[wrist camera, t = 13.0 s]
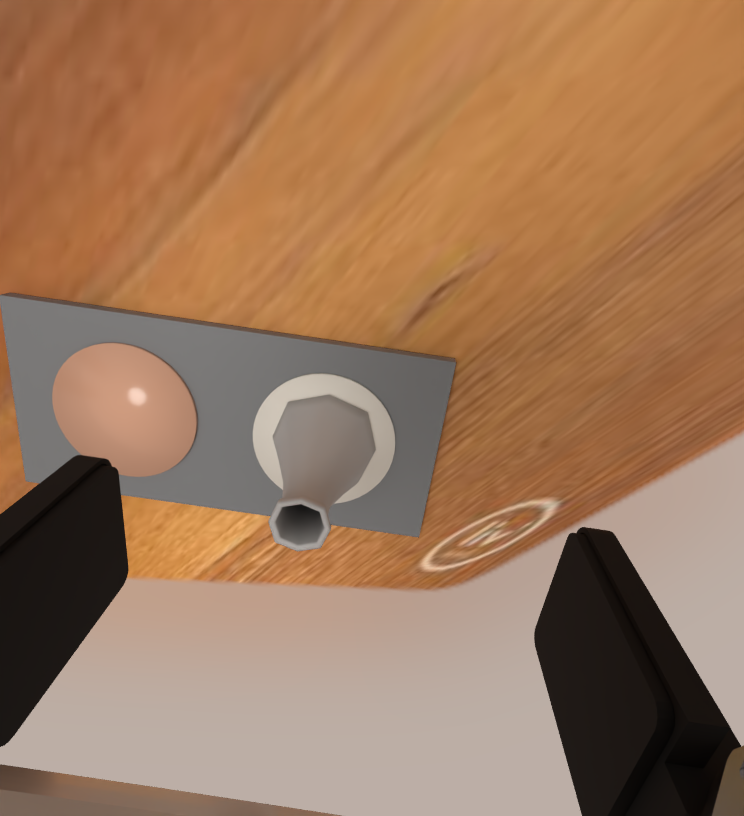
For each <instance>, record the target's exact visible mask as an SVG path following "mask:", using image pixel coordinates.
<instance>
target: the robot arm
mask: <svg viewBox="0 0 744 816" xmlns="http://www.w3.org/2000/svg"><path fill="white" fill-rule="evenodd" d="M127 575H128V559H127V549H126V539H125V530H124V520H123V510H122V500H121V491H120V481H119V473H118V470H117V468H115V467H112V465H111V463H110V461H109V460H108V459H105V458H98V457H91V456H85V455H76V456H74V457H73V458H71V459H70V460H69V461H68V462H66V463H65V464H64V465H63V466H61V467H60V468H59V469H57V470H56V471H55V472H54V473H52V474H51V475H50V476H49V477H47V478H46V479H45V480H43V481H42V482H41V483H40V484H38V485H37V486H36V487H35V488H33V489H32V490H31V491H30V492H28V493H27V494H26V495H24V496H23V497H22V498H21V499H19V500H18V501H17V502H16V503H14V504H13V505H12V506H10V507H9V508H8V509H7V510H5V511H4V512H3V513H2V514H0V747H1V746H3V745H5V744H6V743H8V742H9V741H10V739H11V738H12V737H13V736H14V735H15V733H16V732H17V731H18V729H19V728H20V727H21V725H22V723H23V722H24V721H25V720H26V718H27V717H28V715H29V714H30V713H31V711H32V710H33V709H34V707H35V706H36V704H37V703H38V702H39V700H40V699H41V698H42V696H43V695H44V694H45V692H46V691H47V689H48V688H49V687H50V685H51V684H52V683H53V681H54V680H55V678H56V677H57V676H58V674H59V673H60V672H61V670H62V669H63V667H64V666H65V665H66V663H67V662H68V660H69V659H70V658H71V656H72V655H73V654H74V652H75V651H76V650H77V648H78V647H79V645H80V644H81V643H82V641H83V640H84V639H85V637H86V636H87V634H88V633H89V632H90V630H91V629H92V628H93V626H94V625H95V623H96V622H97V621H98V619H99V618H100V617H101V615H102V614H103V612H104V611H105V610H106V608H107V607H108V606H109V604H110V603H111V602H112V600H113V599H114V597H115V596H116V594H117V593H118V592H119V591H120V589H121V588H122V586H123V585H124V583H125V581H126V578H127ZM534 636H535V637H534V639H535V647H536V651H537V655H538V658H539V662H540V665H541V669H542V672H543V676H544V680H545V683H546V687H547V691H548V694H549V698H550V701H551V705H552V709H553V712H554V716H555V719H556V723H557V727H558V730H559V734H560V738H561V741H562V744H563V748H564V752H565V755H566V759H567V763H568V766H569V770H570V773H571V777H572V781H573V785H574V788H575V791H576V795H577V799H578V802H579V806H580V810H581V813H582V816H744V746H742V747H741V745H740V743H739V742H738V740H737V738H736V737H735V735H734V734H733V732H732V730H731V728H730V726H729V725H728V723H727V721H726V720H725V718H724V716H723V714H722V713H721V711H720V709H719V708H718V706H717V704H716V703H715V701H714V699H713V698H712V696H711V695H710V693H709V691H708V690H707V688H706V686H705V685H704V683H703V681H702V679H701V678H700V676H699V674H698V673H697V671H696V669H695V668H694V666H693V664H692V663H691V661H690V659H689V658H688V656H687V654H686V653H685V651H684V650H683V648H682V646H681V644H680V643H679V641H678V640H677V638H676V636H675V634H674V633H673V631H672V630H671V628H670V626H669V624H668V623H667V621H666V619H665V618H664V616H663V614H662V613H661V611H660V610H659V608H658V606H657V604H656V603H655V601H654V600H653V598H652V596H651V595H650V593H649V591H648V589H647V588H646V586H645V584H644V583H643V581H642V579H641V578H640V576H639V574H638V573H637V571H636V569H635V568H634V566H633V564H632V563H631V561H630V559H629V558H628V556H627V554H626V553H625V551H624V549H623V548H622V546H621V544H620V543H619V541H618V539H617V538H616V536H615V535H614V534H613V532H610V531H606V530H600V529H592V528H586V527H582V528H580V529H579V530H578V531H577V533H570V534H569V536H568V538H567V540H566V543H565V546H564V549H563V552H562V555H561V558H560V560H559V563H558V566H557V569H556V571H555V574H554V577H553V580H552V583H551V585H550V588H549V591H548V594H547V597H546V599H545V602H544V605H543V608H542V611H541V614H540V616H539V619H538V622H537V625H536V628H535V635H534ZM0 816H340V815H334V814H328V813H321V812H314V811H308V810H302V809H295V808H289V807H282V806H276V805H269V804H262V803H256V802H249V801H243V800H236V799H229V798H223V797H216V796H210V795H203V794H197V793H190V792H183V791H176V790H170V789H164V788H157V787H150V786H143V785H137V784H129V783H123V782H116V781H109V780H102V779H95V778H89V777H82V776H75V775H69V774H62V773H54V772H47V771H41V770H34V769H28V768H21V767H13V766H7V765H0Z"/></svg>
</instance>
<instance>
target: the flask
mask: <svg viewBox="0 0 744 816" xmlns="http://www.w3.org/2000/svg"><path fill="white" fill-rule="evenodd" d="M273 441H274V445H275V449H276V452H277V456H278V460H279V464H280V469H281V474H282V479H283V495H282V498H281V499H279V500H278V502H277V504H276V506H275V508H274V510H273V512H272V515H271V517H270V519H269V525H270V528H271V532H272V535H273V538H274V541H275V542H276V543H278V544H281V545H283V546H286V547H288V548H290V549H293V550H295V551H303V550H310V549H318V548H321V547H322V545H323V543H324V541H325V539H326V537H327V535H328V534H329V532H330V530H331V524H330V520H329V517H328V513H329V509H330V507H331V506H332V505H333V504H334V503H335V502H336V501H337V500H338V499H339V498H340V497H341V496H342V495H343V494H345V493H346V492H347V491H349V490H350V489H351V488H352V487H354V486H355V485H356V484H357V483H358V482H359V480H360V478H361V477H362V475H363V473H364V471H365V469H366V467H367V466H368V464H369V462H370V460H371V458H372V456H373V455H374V453H375V451H376V447H375V443H374V438H373V434H372V429H371V424H370V420H369V415H368V412H366V411H364V410H362V409H360V408H357V407H355V406H353V405H351V404H349V403H347V402H344V401H342V400H340V399H338V398H336V397H333V396H331V395H323V396H318V397H312V398H306V399H300V400H295V401H289V402H287V405H286V407H285V409H284V411H283V414H282V416H281V418H280V420H279V423H278V425H277V427H276V429H275V432H274V434H273Z"/></svg>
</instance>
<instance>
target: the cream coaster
mask: <svg viewBox="0 0 744 816" xmlns="http://www.w3.org/2000/svg"><path fill="white" fill-rule="evenodd" d="M323 395H331V396H333V397H336V398H338V399H340V400H342V401H344V402H347V403H349V404H351V405H353V406H355V407H357V408H360V409H362V410H364V411H366V412H368V415H369V420H370V424H371V429H372V434H373V438H374V443H375V447H376V451H375V453H374V455H373V456H372V458H371V460H370V462H369V464H368V466H367V467H366V469H365V471H364V473H363V475H362V477H361V478H360V480H359V482H358V483H357V484H356V485H355V486H354V487H352V488H351V489H350V490H349V491H347V492H346V493H345V494H343V495H342V496H341V497H340V498H339V499H338V500H337V501H336V502H335V503H334V504H336V503H343V502H347V501H351V500H353V499H356V498H359V497H361V496H362V495H364V494H366V493H368V492H369V491H370V490H372V489H373V488H374V487H375V486H376V485H377V484H379V483H380V481H381V480H382V479H383V478H384V476H385V475H386V473H387V472H388V470H389V468H390V465H391V463H392V460H393V456H394V452H395V432H394V427H393V423H392V420H391V417H390V415H389V413H388V411H387V409H386V408H385V406H384V405H383V403H382V402H381V401H380V400H379V398H378V397H377V396H376V395H375V394H374V393H373V392H371V391H370V390H369V389H368V388H366V387H365V386H363V385H362V384H360V383H358V382H356V381H354V380H352V379H350V378H347V377H344V376H341V375H336V374H331V373H311V374H305V375H301V376H298V377H295V378H292V379H290V380H288V381H286V382H284V383H283V384H281V385H280V386H278V387H277V388H276V389H275V390H273V391H272V392H271V393H270V394H269V396H268V397H267V398H266V399H265V401H264V402H263V404H262V405H261V407H260V408H259V411H258V413H257V415H256V418H255V422H254V426H253V445H254V450H255V454H256V457H257V459H258V461H259V463H260V466H261V467H262V469H263V470H264V472H265V473H266V474H267V476H268V477H269V478H270V479H271V480H272V481H273V482H274V483H275V484H276V485H277V486H278V487H280V488H281V489H282V490H283V479H282V474H281V469H280V464H279V460H278V456H277V452H276V449H275V445H274V441H273V434H274V432H275V429H276V427H277V425H278V423H279V420H280V418H281V416H282V414H283V411H284V409H285V407H286V405H287V402H289V401H295V400H300V399H306V398H312V397H318V396H323Z"/></svg>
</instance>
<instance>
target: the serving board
mask: <svg viewBox="0 0 744 816" xmlns="http://www.w3.org/2000/svg"><path fill="white" fill-rule="evenodd" d="M0 305H1V312H2V319H3V326H4V333H5V340H6V347H7V354H8V361H9V367H10V374H11V381H12V388H13V395H14V402H15V409H16V416H17V423H18V430H19V437H20V444H21V451H22V458H23V465H24V472H25V479H26V481H28V482H35V483H41V482H42V481H43V480H45V479H46V478H47V477H49V476H50V475H51V474H52V473H54V472H55V471H56V470H57V469H59V468H60V467H61V466H63V465H64V464H65V463H66V462H68V461H69V460H70V459H71V458H73V457H74V456H76V455H81V454H80V453H79V452H78V451H77V450H76V449H75V448H74V447H73V446H72V445H71V444H70V442H69V441H68V440H67V438H66V437H65V435H64V434H63V432H62V430H61V429H60V427H59V424H58V422H57V420H56V417H55V413H54V409H53V403H52V392H53V385H54V381H55V378H56V375H57V373H58V371H59V369H60V368H61V366H62V365H63V364H64V363H65V362H66V360H67V359H68V358H69V357H71V356H72V355H73V354H75V353H76V352H78V351H80V350H82V349H84V348H86V347H89V346H92V345H95V344H100V343H107V342H118V343H126V344H131V345H135V346H138V347H141V348H144V349H146V350H148V351H150V352H152V353H154V354H155V355H157V356H159V357H160V358H162V359H163V360H164V361H166V362H167V363H168V364H169V365H170V366H172V367H173V368H174V369H175V370H176V371H177V372H178V374H179V375H180V376H181V377H182V379H183V380H184V381H185V383H186V385H187V386H188V388H189V390H190V392H191V394H192V396H193V399H194V402H195V405H196V409H197V416H198V426H197V433H196V437H195V440H194V443H193V445H192V447H191V448H190V450H189V452H188V453H187V454H186V455H185V457H184V458H183V459H182V460H181V461H180V462H179V463H178V464H177V465H175V466H174V467H172V468H171V469H169V470H167V471H165V472H163V473H160V474H156V475H152V476H146V477H133V476H125V475H120V474H119V481H120V491H121V495H126V496H133V497H140V498H147V499H154V500H161V501H168V502H175V503H182V504H189V505H196V506H203V507H210V508H217V509H224V510H231V511H238V512H245V513H252V514H259V515H266V516H271V515H272V512H273V510H274V508H275V506H276V504H277V502H278V500H279V499H281V498H282V495H283V490H282V489H281V488H280V487H278V486H277V485H276V484H275V483H274V482H273V481H272V480H271V479H270V478H269V477H268V476H267V474H266V473H265V472H264V470H263V469H262V467H261V466H260V463H259V461H258V459H257V457H256V454H255V450H254V445H253V426H254V422H255V418H256V415H257V413H258V411H259V408H260V407H261V405H262V404H263V402H264V401H265V399H266V398H267V397H268V396H269V394H270V393H271V392H272V391H273V390H275V389H276V388H277V387H278V386H280V385H281V384H283V383H284V382H286V381H288V380H290V379H292V378H295V377H298V376H301V375H305V374H311V373H331V374H336V375H341V376H344V377H347V378H350V379H352V380H354V381H356V382H358V383H360V384H362V385H363V386H365V387H366V388H368V389H369V390H370V391H371V392H373V393H374V394H375V395H376V396H377V397H378V398H379V400H380V401H381V402H382V403H383V405H384V406H385V408H386V409H387V411H388V413H389V415H390V417H391V420H392V423H393V427H394V432H395V452H394V456H393V460H392V463H391V465H390V468H389V470H388V472H387V473H386V475H385V476H384V478H383V479H382V480H381V481H380V483H379V484H377V485H376V486H375V487H374V488H373V489H372V490H370V491H369V492H368V493H366V494H364V495H362V496H361V497H359V498H356V499H353V500H351V501H347V502H343V503H336V504H333V505H332V506H331V507H330V509H329V513H328V517H329V520H330V524H331V525H336V526H343V527H350V528H357V529H364V530H371V531H378V532H385V533H392V534H399V535H406V536H413V537H419V535H420V530H421V525H422V521H423V516H424V511H425V507H426V502H427V497H428V493H429V488H430V483H431V478H432V474H433V469H434V464H435V460H436V455H437V450H438V446H439V441H440V436H441V432H442V427H443V422H444V418H445V413H446V408H447V404H448V399H449V394H450V389H451V385H452V380H453V375H454V371H455V366H456V361H455V358H449V357H442V356H435V355H428V354H422V353H415V352H408V351H401V350H395V349H388V348H381V347H374V346H367V345H361V344H354V343H347V342H340V341H334V340H327V339H320V338H313V337H307V336H300V335H293V334H286V333H280V332H273V331H266V330H259V329H252V328H246V327H239V326H232V325H225V324H219V323H212V322H205V321H198V320H192V319H185V318H178V317H171V316H165V315H158V314H151V313H144V312H137V311H131V310H124V309H117V308H110V307H104V306H97V305H90V304H83V303H77V302H70V301H63V300H56V299H50V298H43V297H36V296H29V295H22V294H16V293H6V294H2V295H0Z"/></svg>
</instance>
